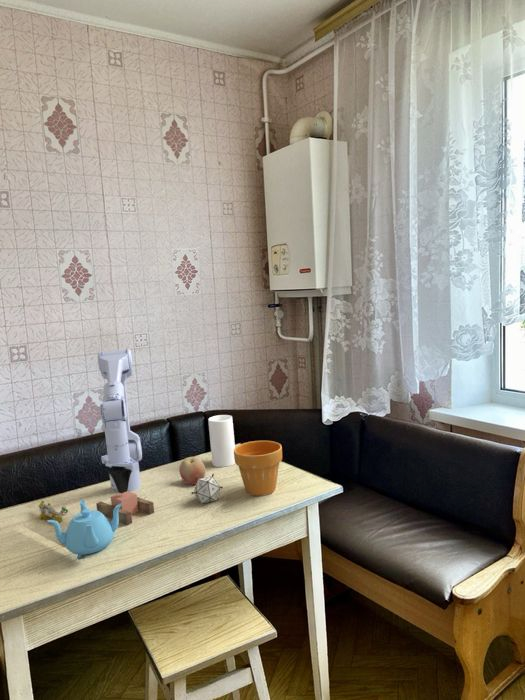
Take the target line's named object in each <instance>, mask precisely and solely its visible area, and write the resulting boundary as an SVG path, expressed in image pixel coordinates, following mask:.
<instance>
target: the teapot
mask: <svg viewBox="0 0 525 700" xmlns="http://www.w3.org/2000/svg"><path fill="white" fill-rule="evenodd" d="M122 504H123V503H121V504H119V505H117V506H116V507H115V508H114V510H113V519H111V521H110V520H109V518H108V517H105V516H104V515H103V514H102V513H101V512H99V511H97V509H96V510H95V509H94V510H92V509H90V508H87V505H86V501H85V500H84V499H80V500H79V505H80V512H78V513H77V514H75V515H74V516H73V517H72V518H71V519H70V522H69V523H68V525H67V528H66V531H65V532H63V531H62V529H61V525H60V523H58V522H57V521H55V520H51V519H48V520H47V522H48V523H50V524H52V526H53V529H54V532H55V538H57V541H58V542H59V543H60V544H62V545H64V547H65V548H66V550H67V551H69V552H70V553H71V554H74V555H77V556H76V559H77V560H83V559H85V558H86V555H90V554H93V553H98V552H100V551H102V550H104V549H105V548H107V547H108V546H109V545H110V544H111V542H112V541H113V539H114V535H115V532H116V530H118V527H119V523H120V522H119V516H118V512H119V508H120V507H121V505H122ZM84 555H85V556H84Z"/></svg>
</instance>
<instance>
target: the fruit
mask: <svg viewBox="0 0 525 700" xmlns="http://www.w3.org/2000/svg"><path fill="white" fill-rule="evenodd" d="M205 475H206V466H205V464H204V463H203V461H202V460H201V459H200V458H198V457H195V456H189V457H185V458H184V459H183V460H182V461H181V463H180V465H179V476H180V478H181V479H182V480H183V481H184V482H185V483H186V484H188V485H196V482H197V479H196V477H197V478H198V479H200V478H205Z"/></svg>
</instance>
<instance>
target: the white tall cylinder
mask: <svg viewBox="0 0 525 700" xmlns="http://www.w3.org/2000/svg"><path fill="white" fill-rule="evenodd" d="M207 420H208V431H209V441H210V443H209V444H210V451H211V452H210V453H211V460H212V461H211V462H212V466H214V467H217V468H227V467H230V466H233V465H236V463H235V459H234V449H235V447H236V445H235V444H236V443H235V434H234V433H235V431H234V423H233V416H232V415H229V414H218V415H213V416H211V417H209V418H208V419H207Z"/></svg>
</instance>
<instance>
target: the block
mask: <svg viewBox="0 0 525 700" xmlns="http://www.w3.org/2000/svg"><path fill="white" fill-rule="evenodd" d="M137 497H138V495H137V493H134V492H132V491H131V492H128V491H127V492H124V493H119V492H118V493H117V494H114V495H112V496H110V503H111V504H110V505H112V506H115V507H116V506H117V505H119V504H121V503H123V504H122V505H121V507H120V509H123V510H126V511H128V512H131V516H132V515H135V514H136V513H138V512H140V511H139V510H138V502H137Z"/></svg>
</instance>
